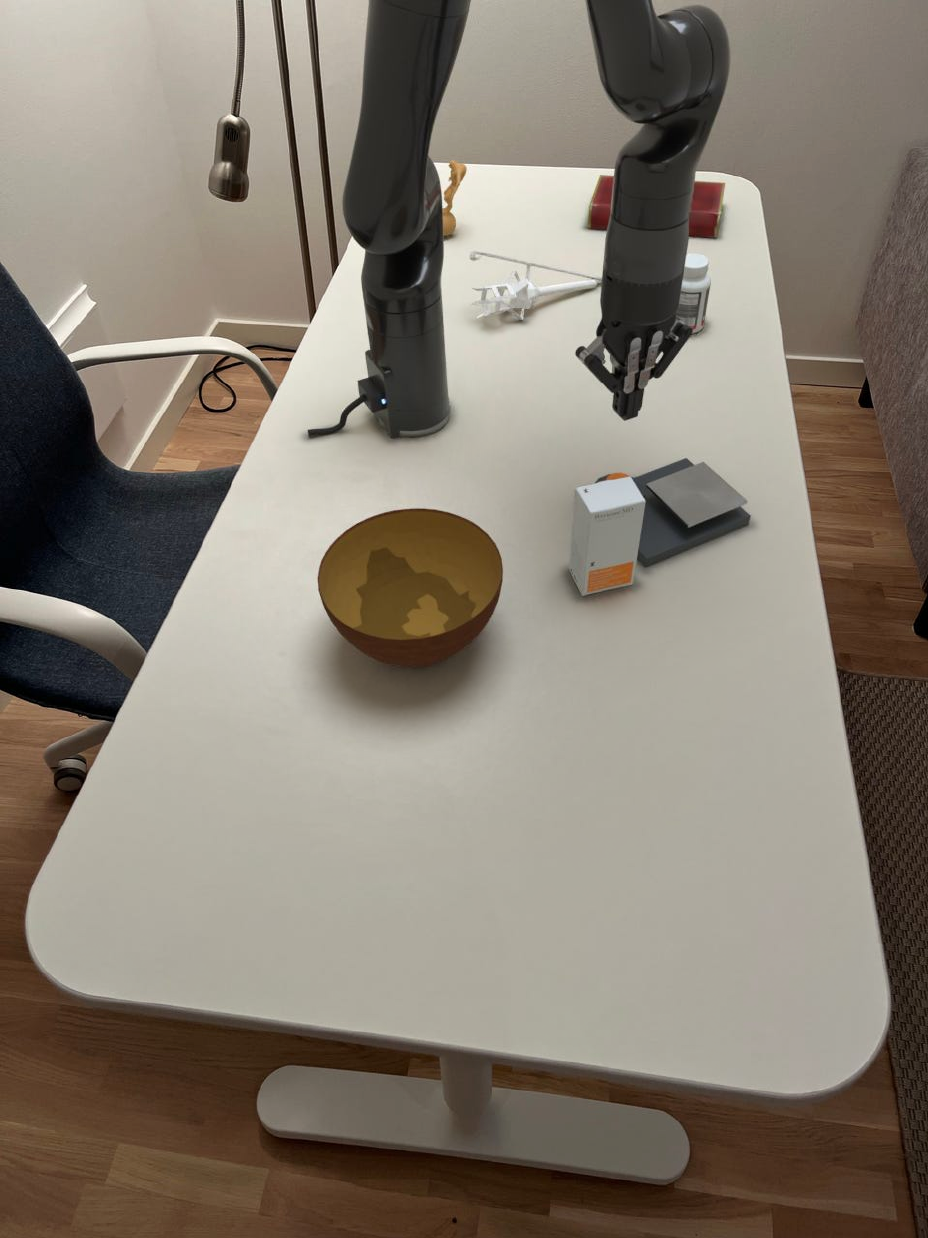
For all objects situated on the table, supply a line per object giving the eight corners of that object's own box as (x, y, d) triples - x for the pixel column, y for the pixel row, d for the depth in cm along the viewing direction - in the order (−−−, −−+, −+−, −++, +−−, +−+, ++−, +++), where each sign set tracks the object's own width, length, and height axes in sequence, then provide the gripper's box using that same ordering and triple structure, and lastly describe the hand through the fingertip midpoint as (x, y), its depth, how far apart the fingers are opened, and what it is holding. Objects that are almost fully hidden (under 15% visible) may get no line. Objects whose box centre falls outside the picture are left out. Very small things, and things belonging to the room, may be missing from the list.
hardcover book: (716, 238, 151) (721, 213, 147) (587, 229, 155) (589, 204, 151) (721, 206, 158) (725, 180, 155) (598, 197, 162) (600, 173, 159)
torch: (593, 342, 147) (456, 318, 134) (599, 283, 146) (461, 253, 133) (619, 339, 142) (478, 313, 129) (625, 277, 140) (484, 245, 128)
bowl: (377, 561, 104) (366, 492, 96) (527, 599, 99) (528, 530, 91) (302, 679, 93) (283, 611, 85) (467, 728, 88) (462, 661, 81)
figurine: (433, 223, 158) (428, 150, 149) (468, 222, 158) (465, 148, 149) (432, 247, 153) (427, 172, 144) (469, 245, 153) (466, 170, 144)
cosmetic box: (582, 598, 99) (588, 513, 90) (568, 571, 101) (573, 486, 93) (635, 585, 100) (647, 500, 91) (620, 559, 102) (630, 473, 93)
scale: (642, 569, 101) (644, 549, 99) (581, 503, 109) (582, 484, 107) (748, 524, 105) (753, 504, 103) (682, 464, 113) (686, 444, 111)
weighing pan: (688, 527, 101) (688, 525, 101) (645, 486, 106) (645, 483, 105) (747, 503, 103) (748, 500, 103) (702, 464, 108) (703, 461, 108)
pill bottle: (683, 311, 136) (692, 246, 129) (711, 325, 133) (722, 260, 126) (657, 324, 134) (665, 260, 127) (686, 339, 131) (696, 274, 124)
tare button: (614, 504, 104) (615, 492, 103) (599, 489, 106) (600, 477, 105) (636, 495, 105) (638, 483, 104) (621, 481, 107) (623, 469, 106)
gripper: (679, 227, 91) (657, 380, 104) (562, 260, 87) (554, 414, 100) (727, 260, 86) (697, 415, 99) (605, 296, 83) (591, 452, 95)
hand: (625, 414), depth 100 cm, fingers closed
